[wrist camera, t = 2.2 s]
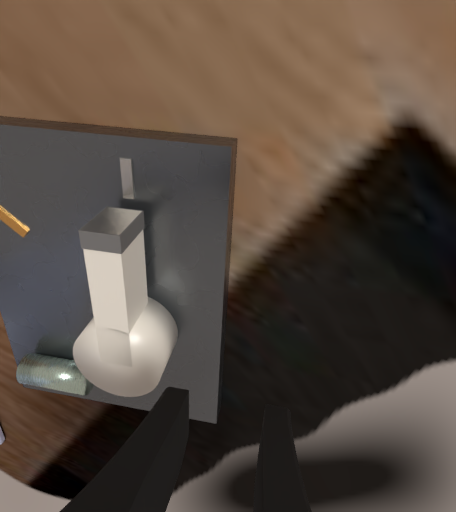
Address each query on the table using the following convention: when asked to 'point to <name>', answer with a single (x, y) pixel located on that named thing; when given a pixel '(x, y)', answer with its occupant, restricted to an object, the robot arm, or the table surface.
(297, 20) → the table surface
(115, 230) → the white long bulbous piece
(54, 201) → the base plate
